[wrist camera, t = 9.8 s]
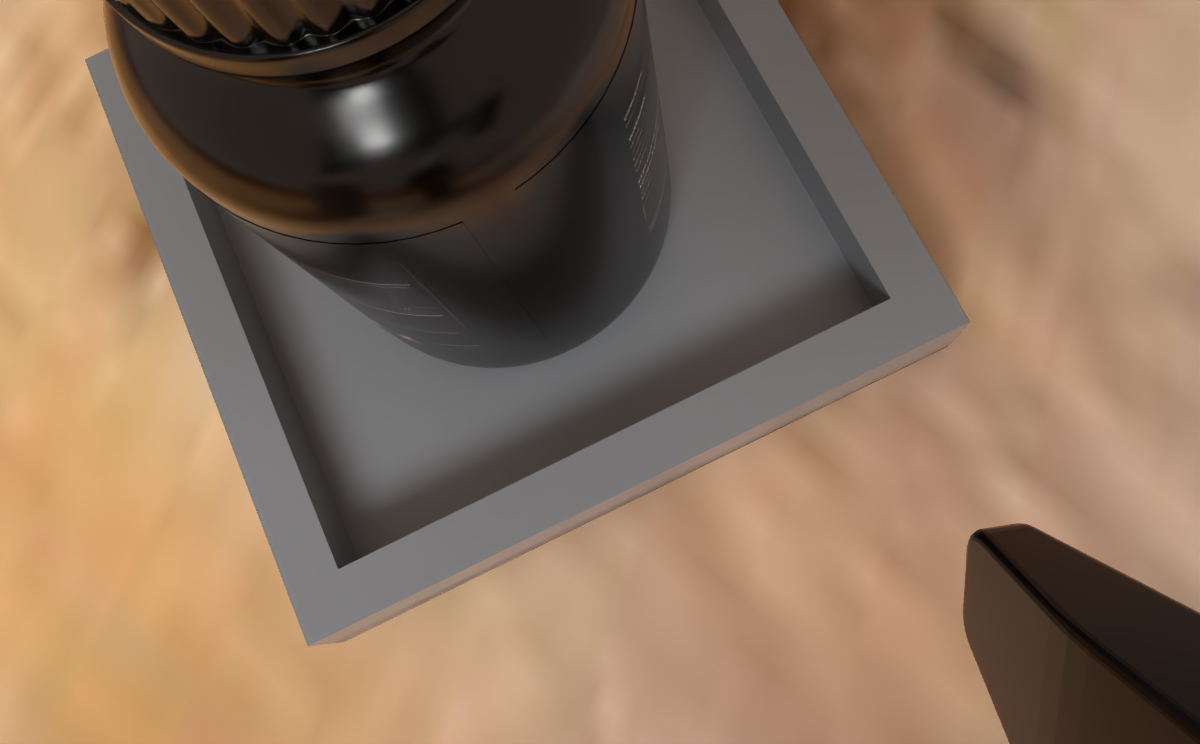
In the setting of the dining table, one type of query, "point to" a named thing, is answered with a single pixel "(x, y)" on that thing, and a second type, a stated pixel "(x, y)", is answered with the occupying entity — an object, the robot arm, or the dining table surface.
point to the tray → (575, 378)
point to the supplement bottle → (421, 153)
